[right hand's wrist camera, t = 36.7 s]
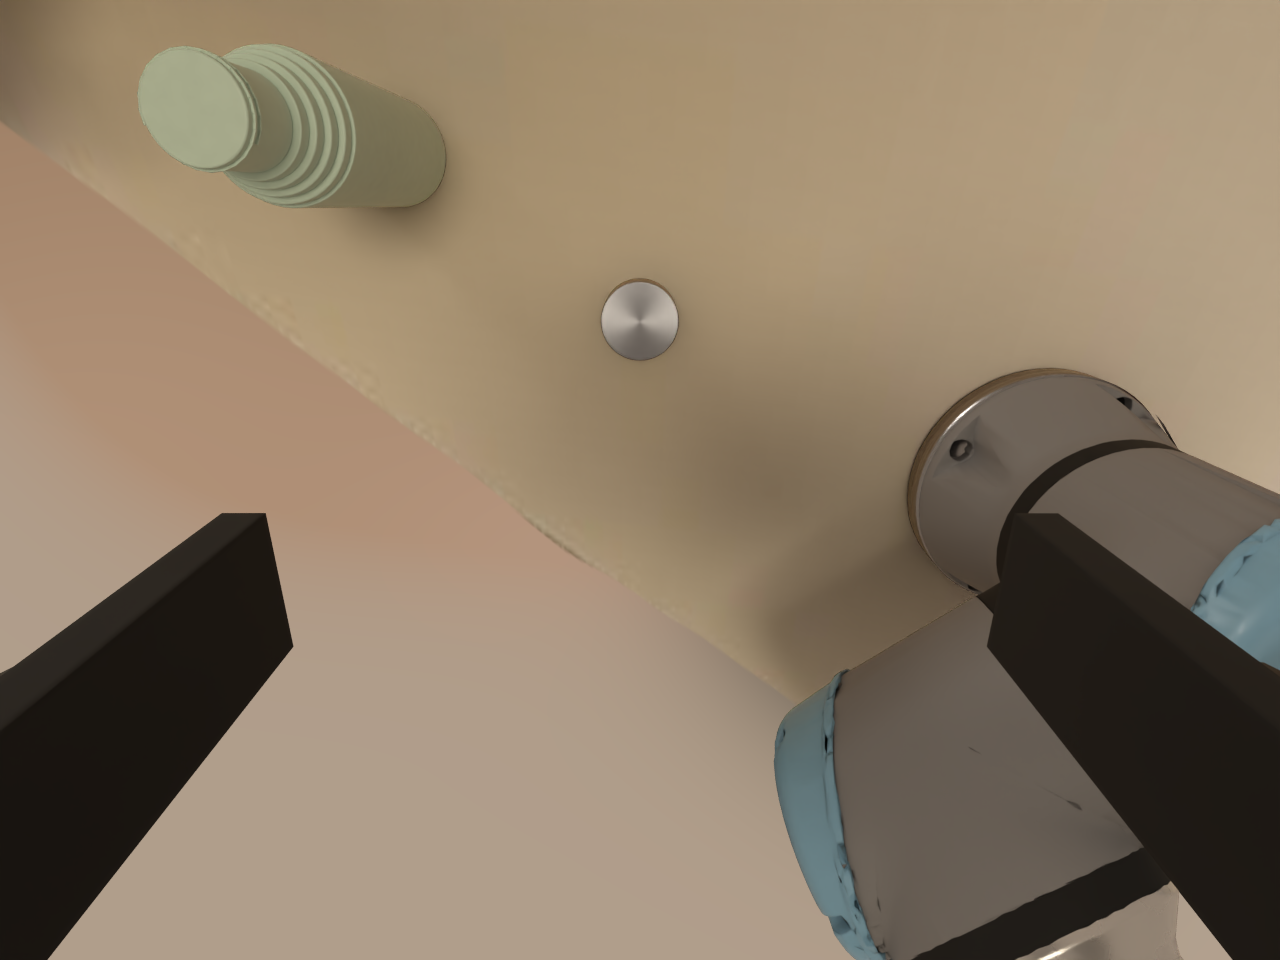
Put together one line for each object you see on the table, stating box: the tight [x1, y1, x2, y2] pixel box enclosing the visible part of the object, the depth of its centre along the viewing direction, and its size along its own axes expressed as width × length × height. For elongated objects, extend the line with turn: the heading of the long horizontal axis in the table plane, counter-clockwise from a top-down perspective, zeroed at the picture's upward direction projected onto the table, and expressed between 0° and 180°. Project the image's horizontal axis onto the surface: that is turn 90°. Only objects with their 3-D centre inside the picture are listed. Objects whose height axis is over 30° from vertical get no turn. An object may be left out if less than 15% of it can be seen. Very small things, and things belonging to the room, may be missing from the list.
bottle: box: [137, 44, 446, 208], centre depth 30 cm, size 6×6×19 cm
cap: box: [601, 278, 679, 360], centre depth 41 cm, size 4×4×2 cm
